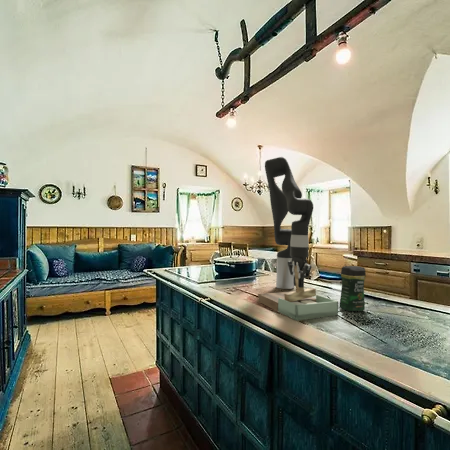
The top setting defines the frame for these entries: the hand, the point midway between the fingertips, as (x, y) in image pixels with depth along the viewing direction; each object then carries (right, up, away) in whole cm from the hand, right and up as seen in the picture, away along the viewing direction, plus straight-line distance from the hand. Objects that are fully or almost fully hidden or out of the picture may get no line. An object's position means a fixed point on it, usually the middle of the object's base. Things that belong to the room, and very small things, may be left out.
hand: (298, 286), depth 125 cm
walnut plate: (-4, -9, +6) cm, 12 cm away
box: (+2, -9, -7) cm, 12 cm away
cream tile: (+4, -7, -2) cm, 9 cm away
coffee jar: (+23, -10, 0) cm, 25 cm away
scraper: (+1, -5, 0) cm, 5 cm away
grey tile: (-2, -7, -5) cm, 9 cm away
